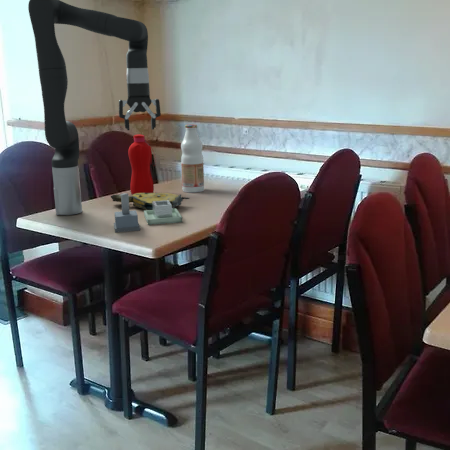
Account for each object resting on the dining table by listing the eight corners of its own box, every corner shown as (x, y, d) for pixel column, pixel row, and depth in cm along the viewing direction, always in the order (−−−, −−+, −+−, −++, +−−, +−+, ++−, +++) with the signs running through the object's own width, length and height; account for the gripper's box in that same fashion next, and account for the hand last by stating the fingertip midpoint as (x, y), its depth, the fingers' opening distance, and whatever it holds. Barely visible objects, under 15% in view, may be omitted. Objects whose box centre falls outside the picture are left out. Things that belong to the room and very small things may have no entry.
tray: (148, 224, 192) (147, 219, 192) (144, 215, 205) (143, 210, 204) (182, 222, 195) (182, 217, 194) (176, 213, 207) (176, 208, 207)
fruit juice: (184, 193, 241) (181, 126, 233) (180, 189, 250) (178, 124, 242) (206, 192, 243) (204, 125, 235) (202, 187, 252) (200, 123, 244)
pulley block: (121, 185, 227) (189, 189, 216) (123, 199, 229) (191, 204, 218) (101, 195, 215) (173, 201, 204) (103, 210, 217) (174, 216, 206)
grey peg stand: (115, 232, 184) (112, 197, 181) (113, 226, 191) (111, 192, 188) (140, 230, 185) (138, 195, 182) (138, 224, 193) (135, 190, 190)
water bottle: (156, 196, 236) (152, 135, 230) (129, 196, 236) (125, 135, 230) (158, 191, 245) (156, 133, 238) (133, 192, 245) (129, 133, 239)
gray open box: (155, 220, 195) (154, 206, 194) (152, 215, 203) (152, 201, 201) (172, 219, 196) (171, 205, 195) (169, 213, 204) (168, 200, 203)
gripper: (117, 82, 191) (120, 131, 195) (160, 81, 194) (162, 129, 198) (116, 82, 198) (119, 129, 202) (157, 81, 201) (159, 128, 205)
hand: (140, 129), depth 200 cm, fingers open, 8 cm apart
